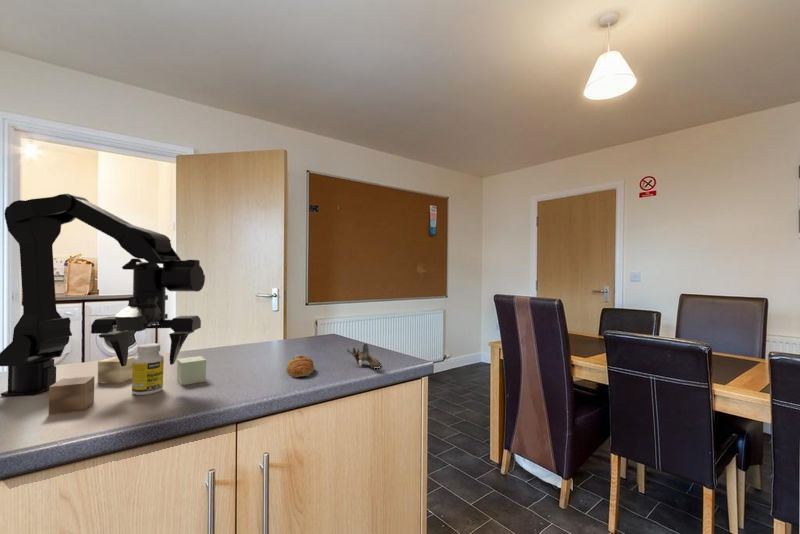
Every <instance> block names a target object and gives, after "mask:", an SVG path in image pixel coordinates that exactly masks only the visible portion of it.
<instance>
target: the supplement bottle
mask: <svg viewBox="0 0 800 534" xmlns="http://www.w3.org/2000/svg"><path fill="white" fill-rule="evenodd" d="M136 351H137V354H138V355H136V357H135V358H134V359H133V372H132V379H131V393H132V394H133V395H135V396H146V395H147V396H148V395H152V394H157V393H159V392H161V391H162V390H163V387H164V364H165V363H164V362H165V360H164V358H165V357H164V355H163V354H162V353H160V352H161V344H160V343H158V342H157V343H156V342H155V343H143V344H139V345H137V350H136Z"/></svg>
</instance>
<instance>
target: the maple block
mask: <svg viewBox="0 0 800 534" xmlns="http://www.w3.org/2000/svg"><path fill="white" fill-rule="evenodd" d="M136 356H137V355H136ZM136 356H129V355H128V359H127V364H126V366H121V364H120V362H119V359H118V357H117V355H116V356H112V357H108V358H105V359H102V360H99V361H97V383H98V382H100V383H99V384H102V383H101V382H104V383H103V384H121V383H120V382H122V383H124V382H123V381H125V382H126V380H127V381H129V380H128V379H130V380H132V379H131V378H132V372H133V359H134V358H135V357H136ZM105 382H106V383H105Z"/></svg>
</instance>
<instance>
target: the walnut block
mask: <svg viewBox="0 0 800 534" xmlns="http://www.w3.org/2000/svg"><path fill="white" fill-rule="evenodd" d="M94 402H95V376H82V377H81V376H80V377H71V378H62V379H59V380H57V381H56V383H54V384H53V385H51V386H50V387H49V389H48V415H49V416H51V415H59V414H60V415H61V414H66V413H74V412H82V411H83V412H85V411H86V410H87V409H88V408H89V407H90V406H91V405H92V404H93V403H94ZM84 410H85V411H84Z"/></svg>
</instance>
